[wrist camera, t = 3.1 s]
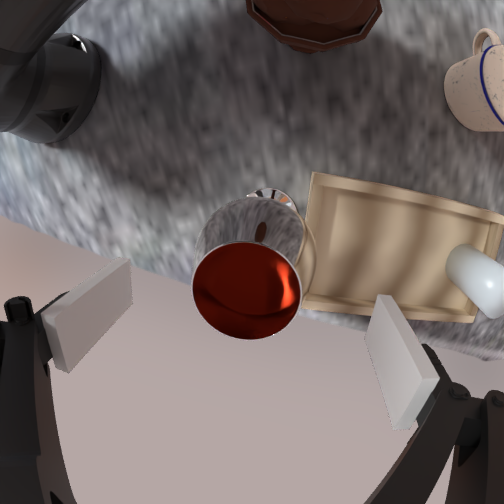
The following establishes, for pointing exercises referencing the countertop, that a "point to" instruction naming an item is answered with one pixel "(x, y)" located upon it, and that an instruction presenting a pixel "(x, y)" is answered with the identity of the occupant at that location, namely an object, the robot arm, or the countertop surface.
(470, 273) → the white rounded capsule
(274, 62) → the countertop surface
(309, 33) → the ice cream bowl
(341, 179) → the tray
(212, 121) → the countertop surface
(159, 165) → the countertop surface
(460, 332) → the countertop surface
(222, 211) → the wineglass
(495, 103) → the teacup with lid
